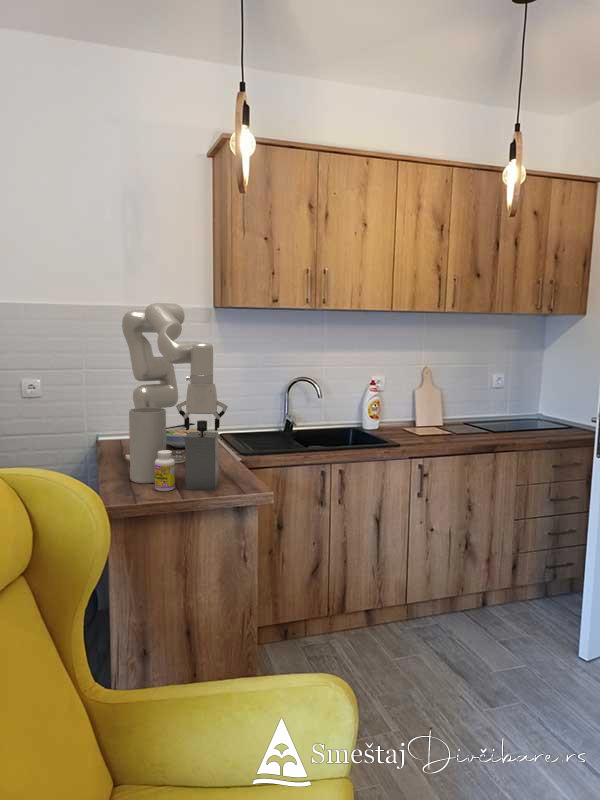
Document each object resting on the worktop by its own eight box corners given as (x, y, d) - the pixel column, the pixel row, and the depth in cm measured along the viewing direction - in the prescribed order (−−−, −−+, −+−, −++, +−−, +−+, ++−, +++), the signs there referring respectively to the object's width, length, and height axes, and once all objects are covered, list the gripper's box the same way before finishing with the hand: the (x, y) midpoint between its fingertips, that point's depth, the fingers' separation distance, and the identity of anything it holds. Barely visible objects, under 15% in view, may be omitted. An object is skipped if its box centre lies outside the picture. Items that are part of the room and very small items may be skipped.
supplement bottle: (150, 490, 200) (150, 452, 198) (162, 485, 206) (161, 448, 205) (168, 492, 198) (167, 454, 196) (178, 487, 204) (178, 450, 202)
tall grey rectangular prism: (185, 489, 201) (185, 437, 199) (190, 479, 214) (190, 430, 212) (215, 490, 202) (215, 437, 199) (218, 479, 215) (219, 430, 212)
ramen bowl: (175, 454, 253) (174, 435, 252) (142, 446, 268) (142, 428, 267) (219, 445, 272) (219, 428, 271) (187, 438, 287) (186, 422, 286)
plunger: (190, 484, 203) (189, 422, 200) (193, 479, 210) (192, 419, 207) (211, 485, 203) (211, 423, 200) (213, 479, 210) (213, 419, 207)
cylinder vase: (134, 474, 219) (133, 407, 216) (169, 475, 220) (168, 407, 217) (126, 484, 207) (125, 412, 204) (162, 484, 208) (162, 413, 204)
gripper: (174, 380, 198) (174, 431, 200) (226, 381, 198) (226, 432, 201) (177, 378, 205) (178, 427, 207) (228, 379, 206) (228, 428, 208)
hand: (202, 429), depth 204 cm, fingers open, 9 cm apart
